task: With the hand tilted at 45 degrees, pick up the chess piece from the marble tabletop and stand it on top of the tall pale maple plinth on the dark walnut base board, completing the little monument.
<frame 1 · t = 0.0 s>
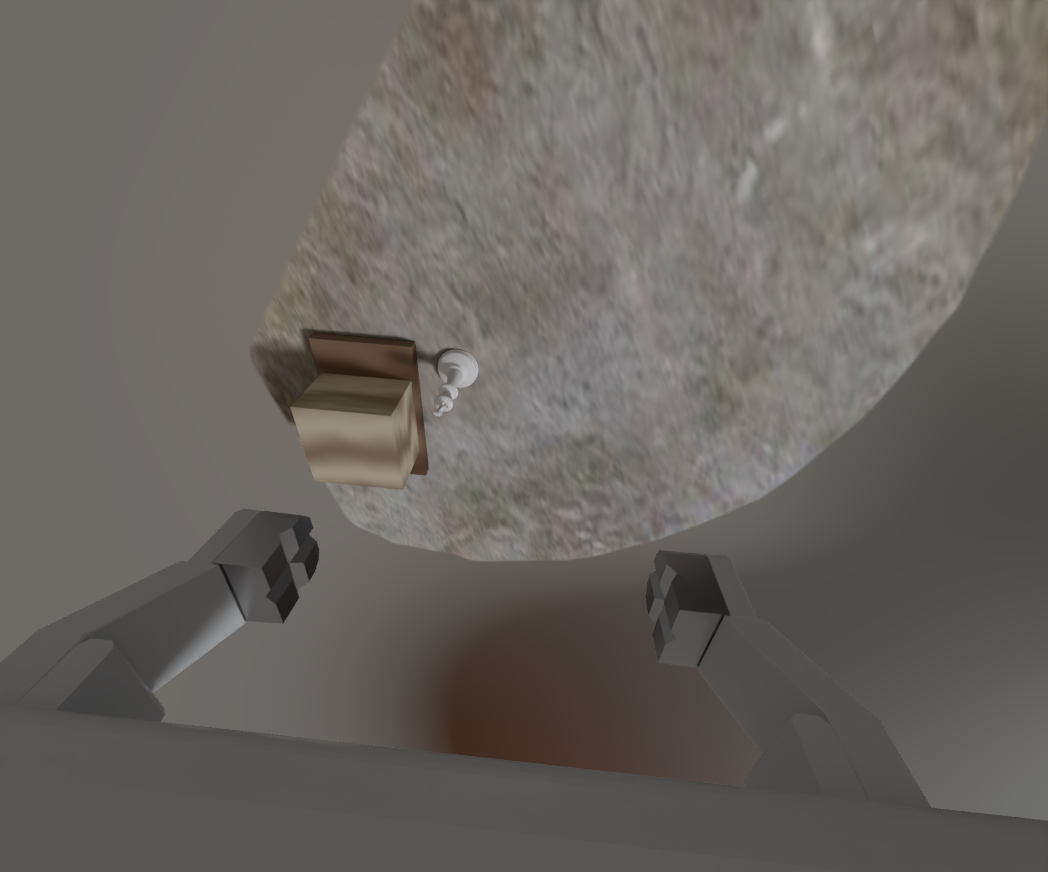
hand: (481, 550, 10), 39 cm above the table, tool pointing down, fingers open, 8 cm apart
chess piece: (458, 367, 51), on the table
walnut base: (377, 407, 56), on the table
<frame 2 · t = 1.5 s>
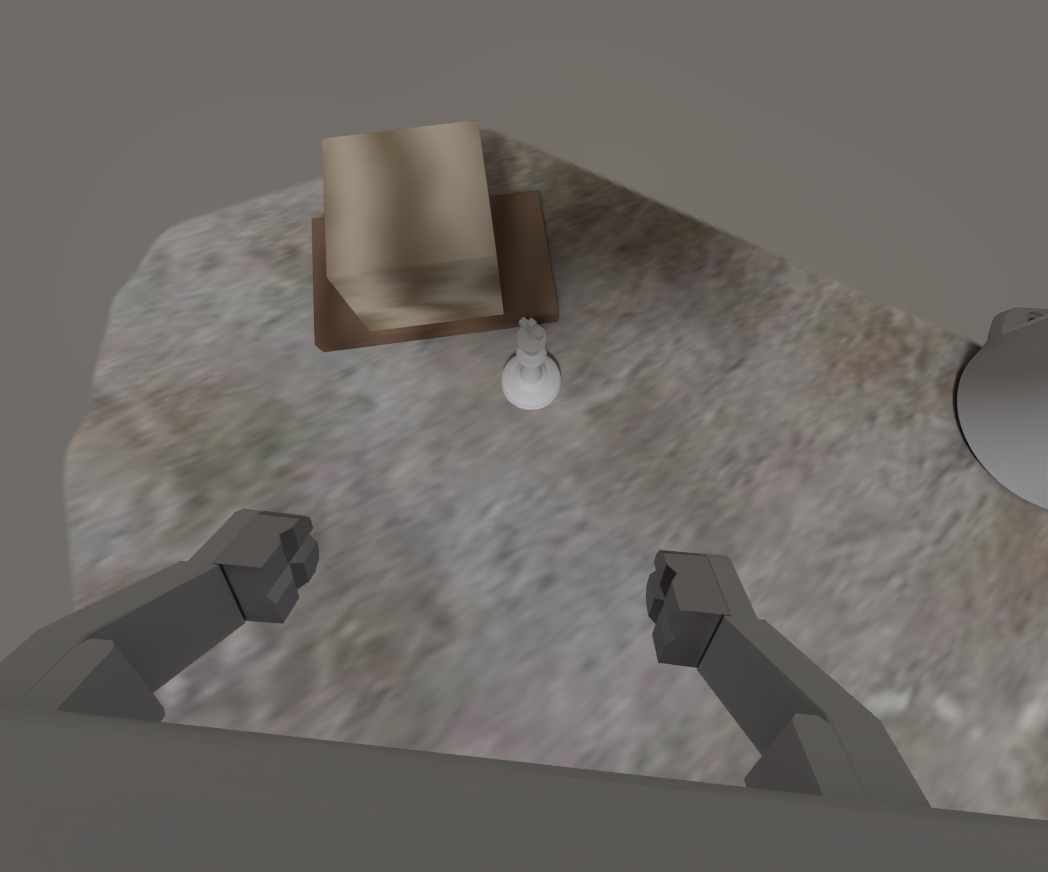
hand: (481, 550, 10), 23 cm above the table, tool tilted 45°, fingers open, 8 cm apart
chess piece: (531, 382, 35), on the table
walnut base: (435, 274, 37), on the table
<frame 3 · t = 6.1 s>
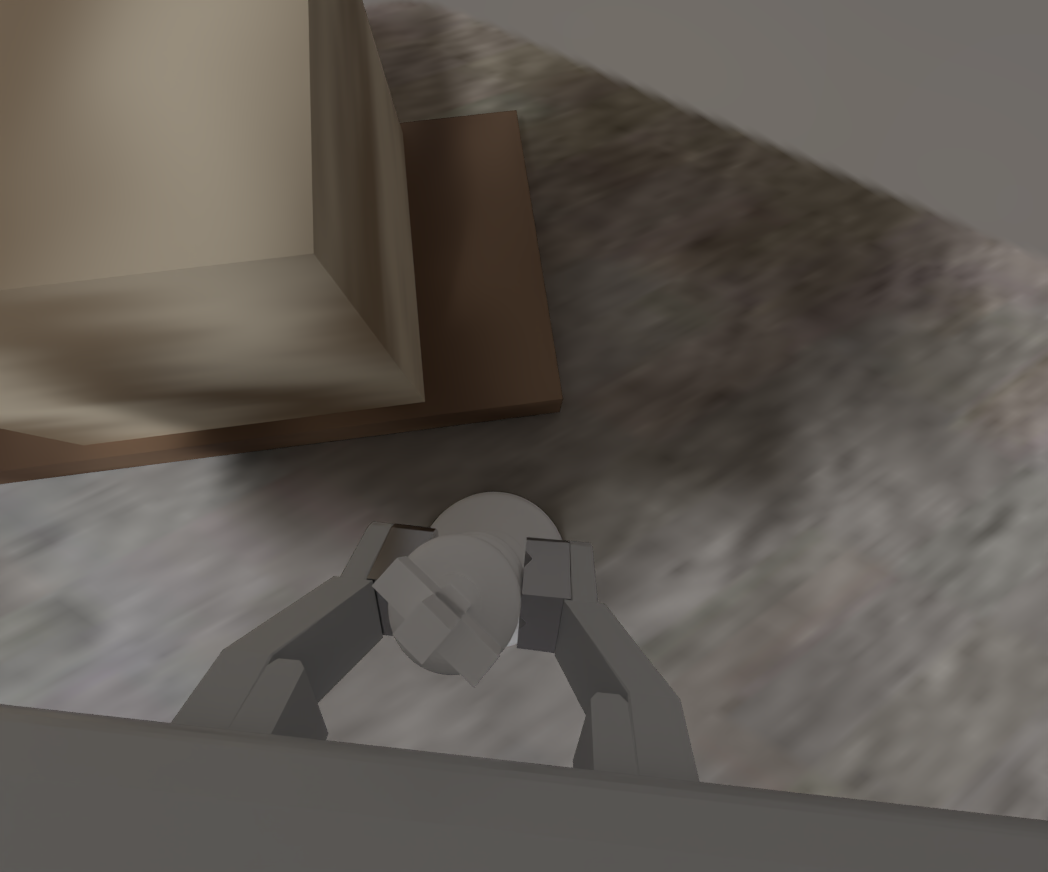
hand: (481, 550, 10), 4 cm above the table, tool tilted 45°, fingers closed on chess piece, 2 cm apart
chess piece: (493, 565, 14), on the table, touching gripper
walnut base: (281, 297, 16), on the table
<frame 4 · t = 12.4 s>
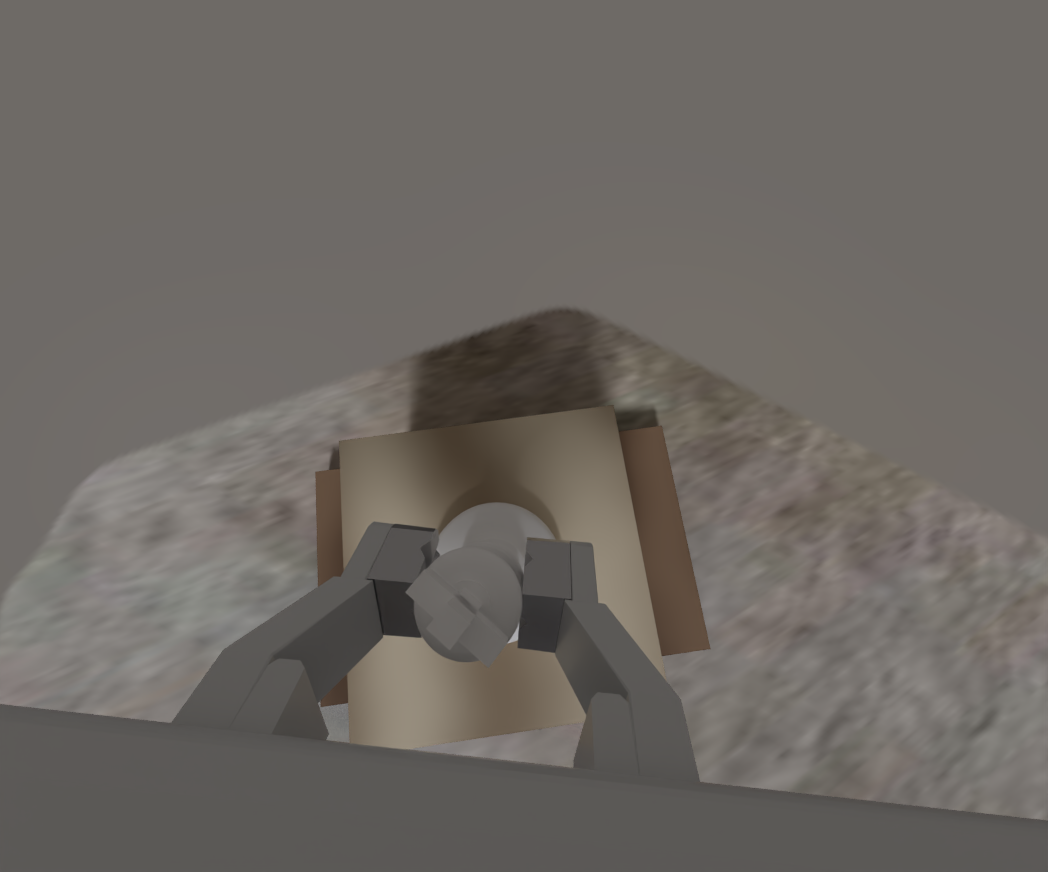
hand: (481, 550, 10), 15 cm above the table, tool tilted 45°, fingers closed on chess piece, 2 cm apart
chess piece: (496, 569, 16), point 9 cm above the table, touching gripper, walnut base
walnut base: (504, 554, 24), on the table
when the fingers open (15 cm above the table, at t = 13.0 s): chess piece stays where it is, resting on walnut base.
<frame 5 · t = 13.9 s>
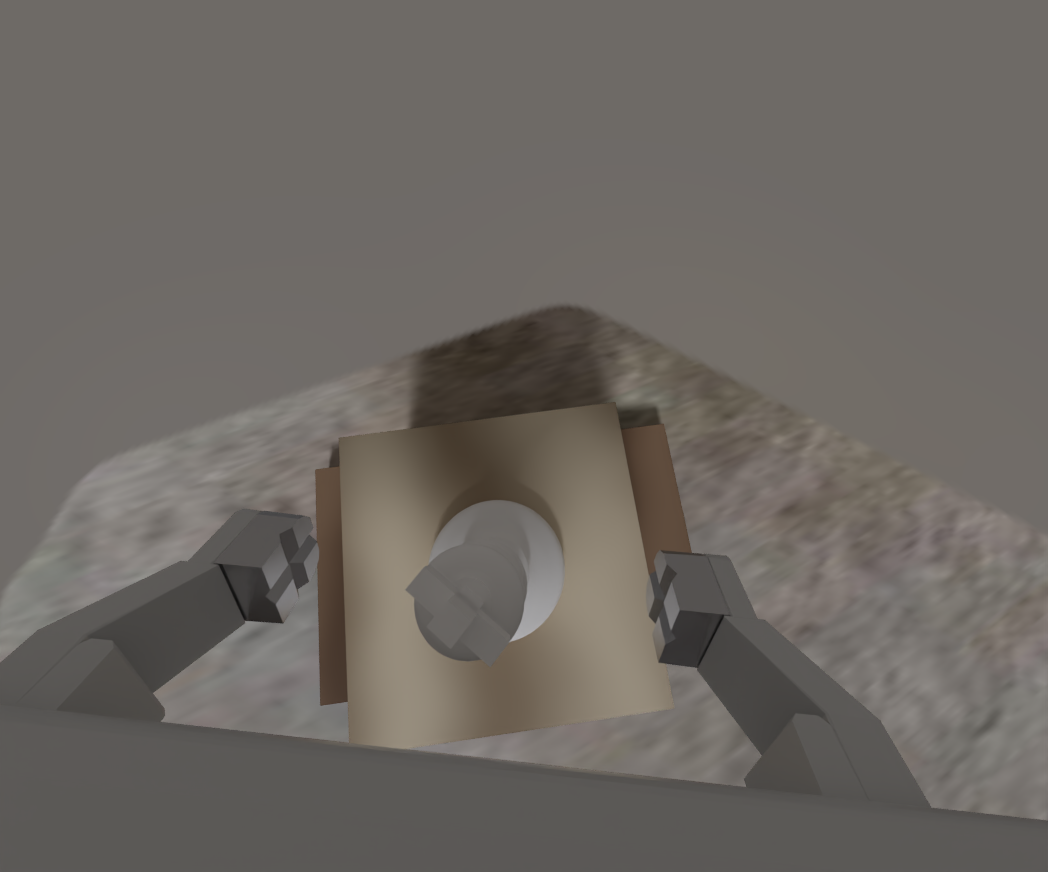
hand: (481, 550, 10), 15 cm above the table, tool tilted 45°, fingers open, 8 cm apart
chess piece: (497, 567, 16), point 9 cm above the table, touching walnut base
walnut base: (505, 553, 24), on the table
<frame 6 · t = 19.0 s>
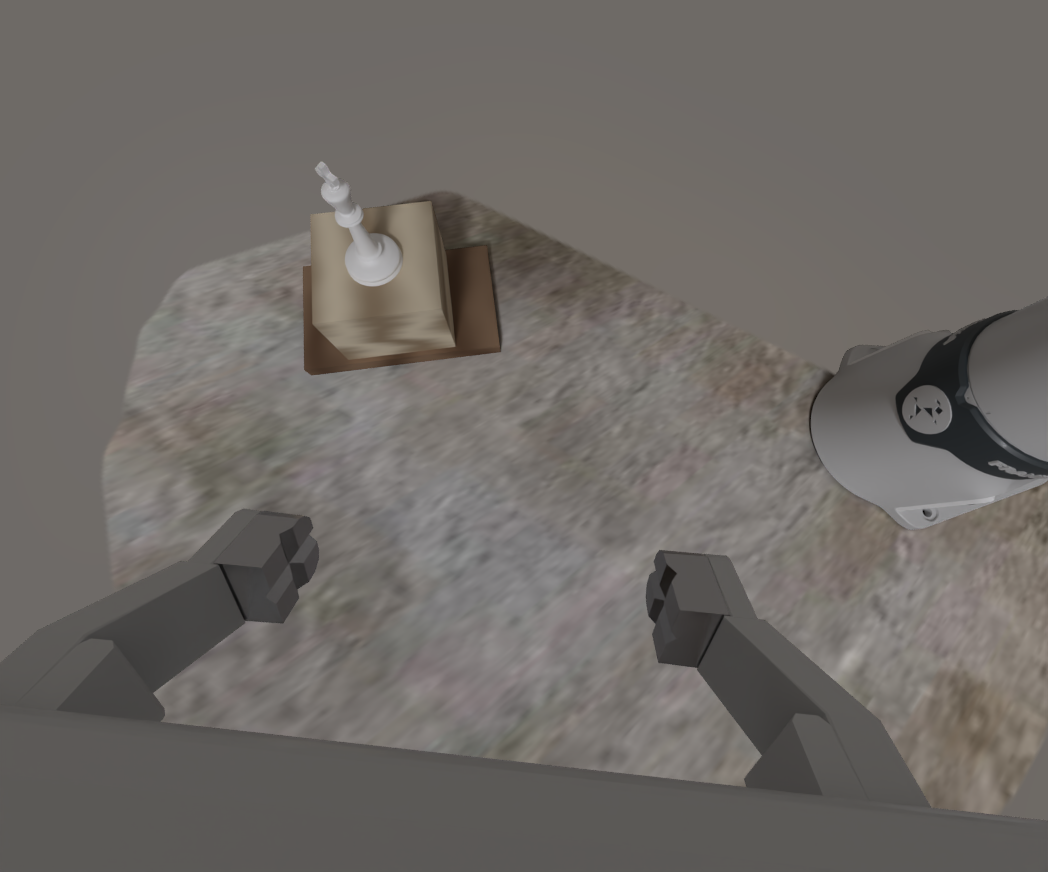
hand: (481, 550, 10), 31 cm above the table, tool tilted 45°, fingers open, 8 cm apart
chess piece: (375, 263, 37), point 9 cm above the table, touching walnut base
walnut base: (402, 312, 46), on the table
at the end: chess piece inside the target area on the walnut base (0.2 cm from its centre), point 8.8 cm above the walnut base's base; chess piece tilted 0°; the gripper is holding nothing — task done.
